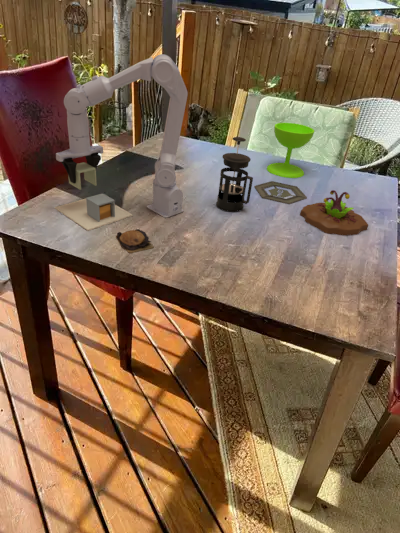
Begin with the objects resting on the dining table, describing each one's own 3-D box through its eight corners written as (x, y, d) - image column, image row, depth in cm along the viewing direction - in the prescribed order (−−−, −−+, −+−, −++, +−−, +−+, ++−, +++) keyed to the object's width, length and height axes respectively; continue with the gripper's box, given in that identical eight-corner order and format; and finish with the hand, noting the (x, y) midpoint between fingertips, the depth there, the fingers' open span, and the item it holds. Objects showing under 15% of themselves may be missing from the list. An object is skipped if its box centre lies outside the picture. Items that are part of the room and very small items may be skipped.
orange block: (110, 216, 121) (110, 204, 119) (99, 220, 118) (98, 207, 116) (103, 211, 123) (102, 199, 121) (91, 215, 121) (90, 202, 118)
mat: (132, 215, 123) (132, 214, 123) (87, 231, 113) (87, 229, 113) (98, 196, 133) (98, 194, 133) (54, 208, 123) (54, 207, 123)
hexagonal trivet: (303, 208, 140) (303, 206, 140) (248, 196, 145) (248, 193, 145) (309, 191, 154) (309, 189, 154) (259, 180, 159) (259, 178, 158)
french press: (209, 205, 134) (216, 137, 122) (222, 197, 141) (230, 131, 129) (240, 216, 130) (251, 146, 117) (252, 206, 137) (264, 139, 124)
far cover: (96, 185, 122) (95, 168, 119) (80, 189, 118) (78, 172, 115) (85, 179, 125) (84, 162, 122) (69, 183, 122) (67, 165, 118)
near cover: (115, 216, 121) (114, 200, 118) (98, 222, 117) (97, 205, 114) (103, 209, 124) (102, 193, 121) (87, 214, 121) (86, 197, 117)
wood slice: (156, 249, 109) (156, 238, 107) (126, 256, 105) (126, 243, 103) (140, 231, 117) (140, 220, 115) (112, 237, 113) (112, 225, 111)
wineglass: (276, 161, 179) (285, 120, 169) (309, 171, 172) (320, 129, 162) (259, 170, 168) (267, 126, 158) (294, 181, 161) (304, 136, 151)
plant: (328, 239, 122) (338, 206, 116) (291, 212, 137) (299, 181, 130) (376, 231, 130) (388, 200, 124) (336, 206, 144) (345, 177, 138)
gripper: (92, 127, 120) (95, 171, 128) (48, 134, 111) (53, 180, 119) (106, 133, 116) (108, 178, 124) (61, 141, 107) (66, 188, 115)
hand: (82, 180), depth 121 cm, fingers closed on far cover, 6 cm apart
